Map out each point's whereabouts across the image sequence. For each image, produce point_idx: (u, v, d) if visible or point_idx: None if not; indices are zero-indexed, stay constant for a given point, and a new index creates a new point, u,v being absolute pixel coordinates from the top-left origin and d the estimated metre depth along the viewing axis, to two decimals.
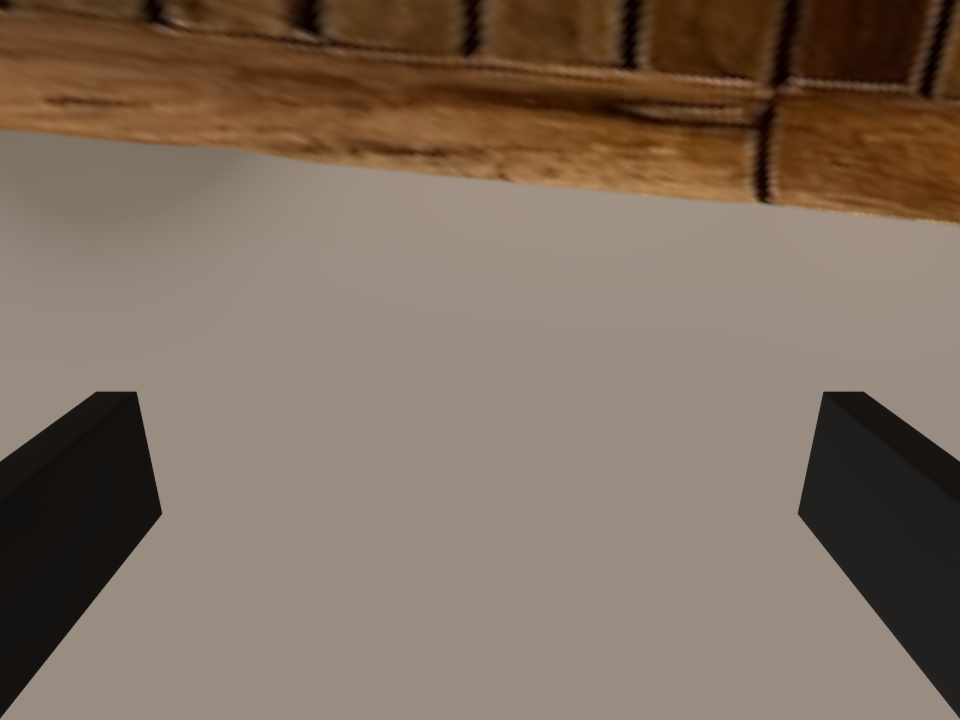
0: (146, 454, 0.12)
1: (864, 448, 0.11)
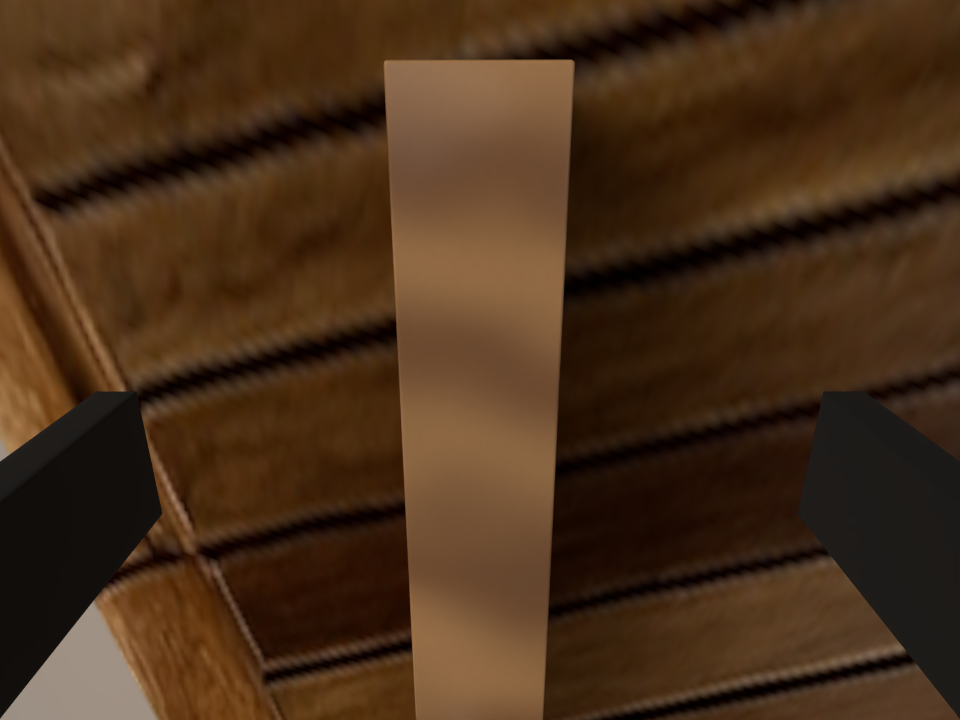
0: (146, 453, 0.12)
1: (863, 448, 0.11)
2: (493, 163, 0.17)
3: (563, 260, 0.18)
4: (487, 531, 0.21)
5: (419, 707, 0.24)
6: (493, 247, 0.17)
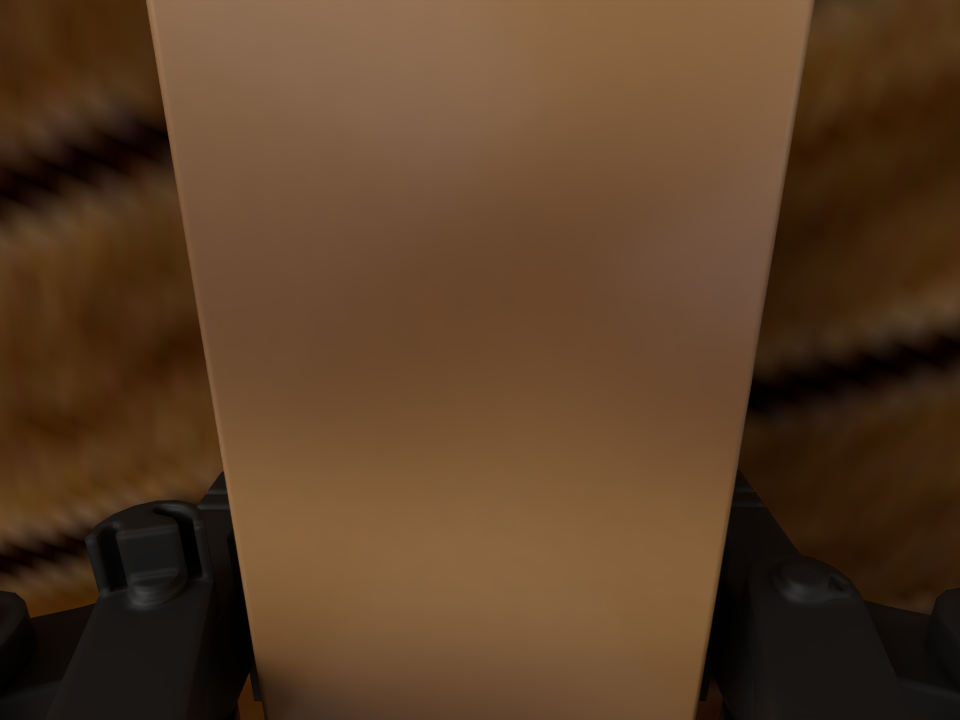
0: None
1: None
2: (524, 276, 0.05)
3: (722, 537, 0.06)
4: None
5: None
6: (520, 508, 0.06)
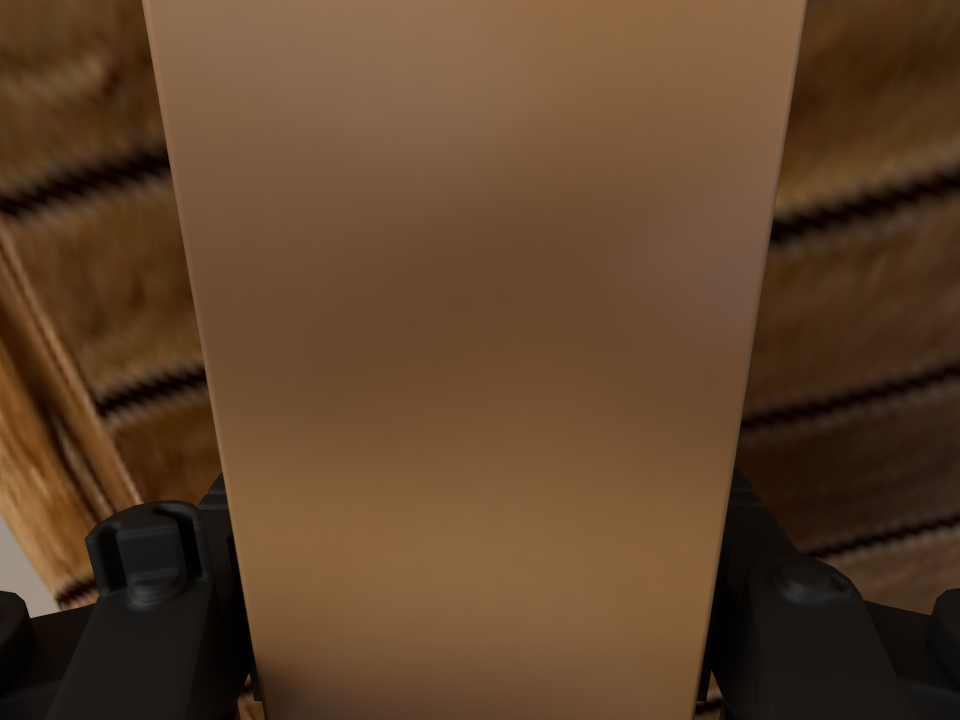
0: None
1: None
2: (520, 277, 0.05)
3: (718, 537, 0.06)
4: None
5: None
6: (518, 508, 0.06)
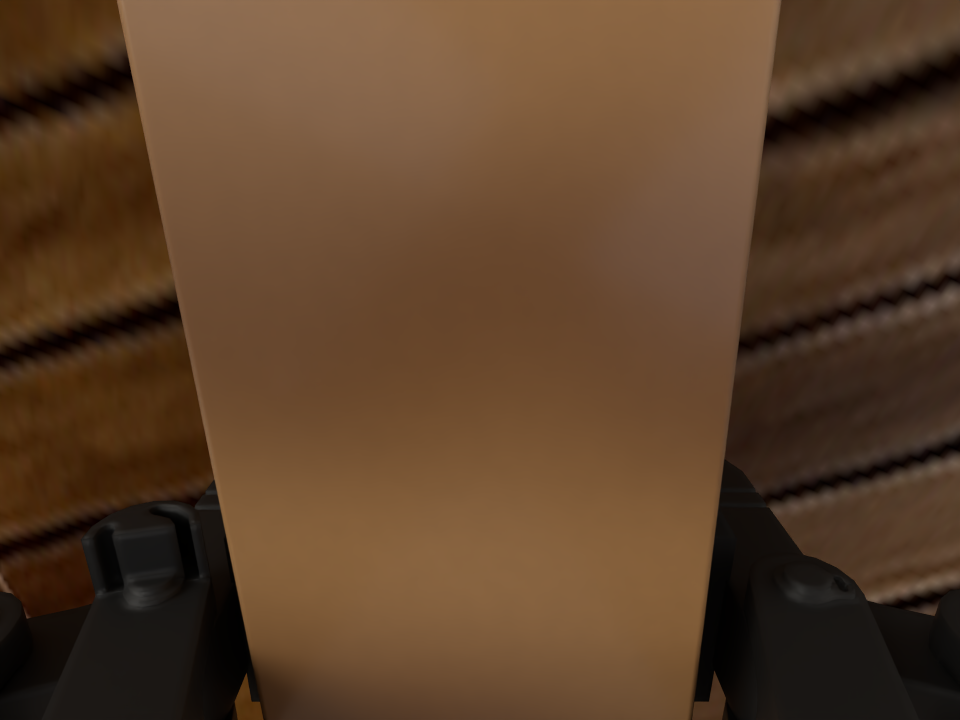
0: None
1: None
2: (503, 285, 0.05)
3: (710, 537, 0.06)
4: None
5: None
6: (509, 513, 0.06)
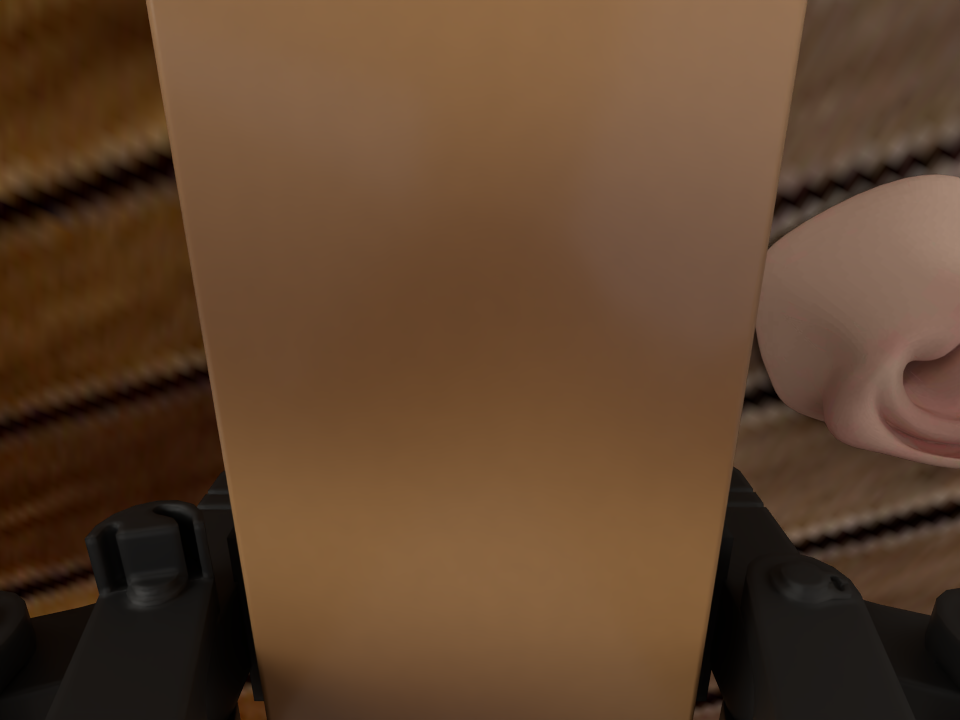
0: None
1: None
2: (520, 285, 0.05)
3: (717, 542, 0.06)
4: None
5: None
6: (519, 513, 0.06)
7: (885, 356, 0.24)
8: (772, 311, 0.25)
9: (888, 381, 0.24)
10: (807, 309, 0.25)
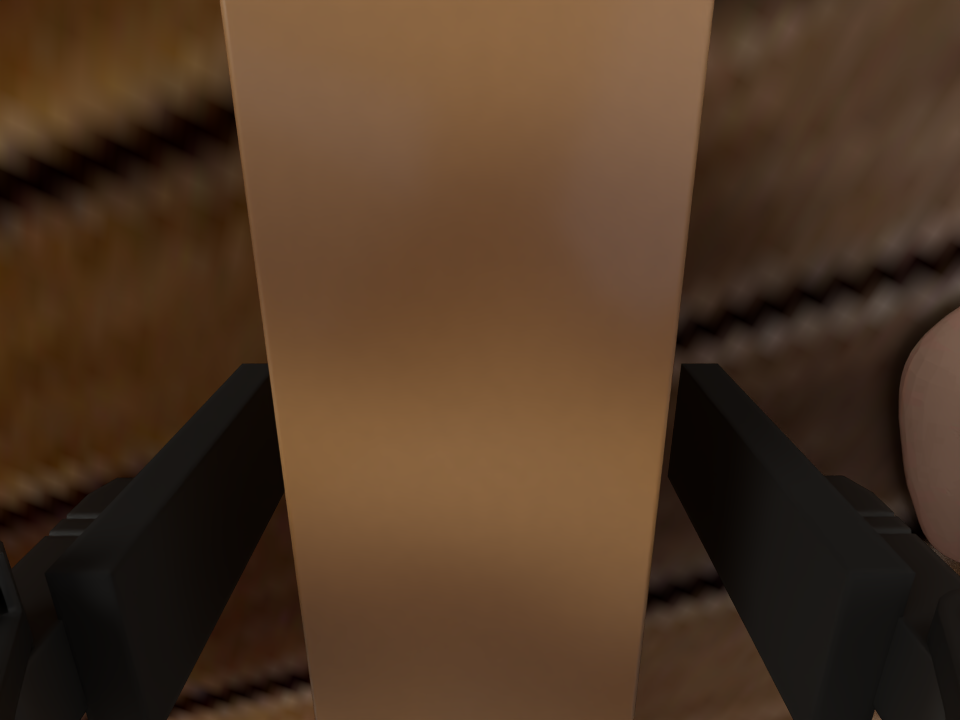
0: None
1: (702, 411, 0.12)
2: (502, 236, 0.07)
3: (661, 446, 0.08)
4: None
5: None
6: (503, 422, 0.08)
7: None
8: (935, 423, 0.16)
9: None
10: None
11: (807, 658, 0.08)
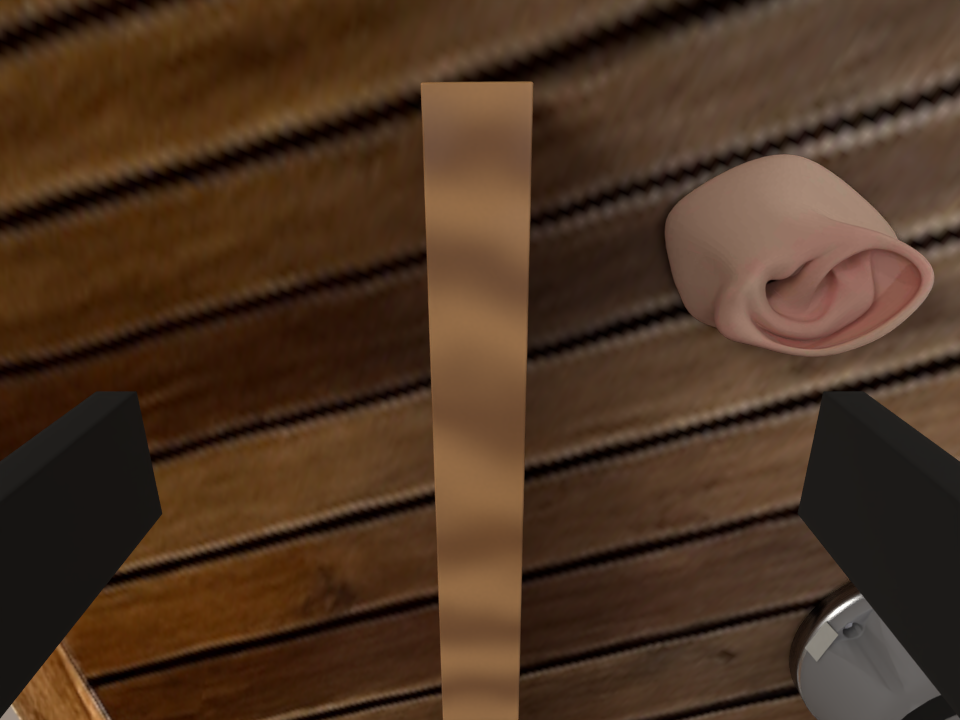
0: (146, 454, 0.12)
1: (864, 448, 0.11)
2: (485, 143, 0.28)
3: (529, 203, 0.29)
4: (484, 385, 0.32)
5: (438, 517, 0.35)
6: (486, 195, 0.29)
7: (749, 275, 0.35)
8: (678, 248, 0.37)
9: (753, 292, 0.36)
10: (700, 245, 0.36)
11: None
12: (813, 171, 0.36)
